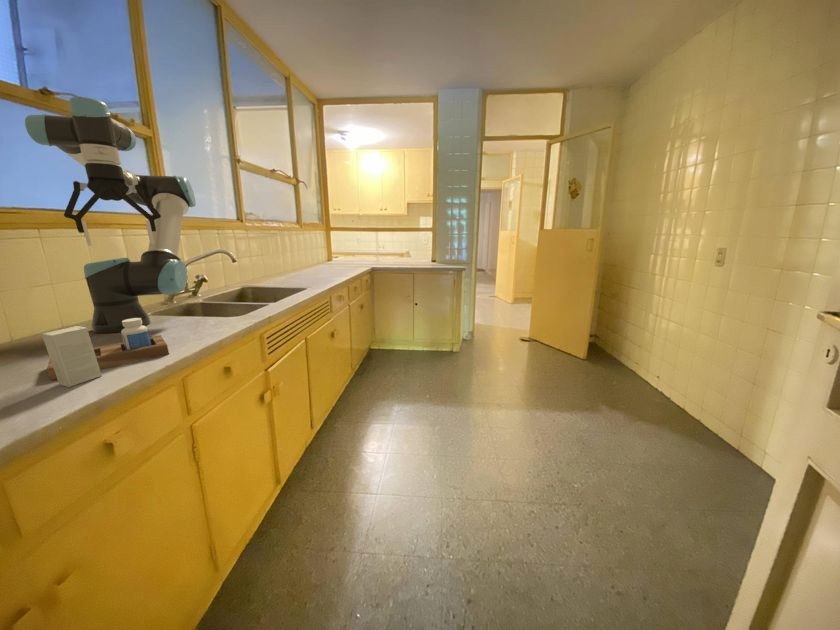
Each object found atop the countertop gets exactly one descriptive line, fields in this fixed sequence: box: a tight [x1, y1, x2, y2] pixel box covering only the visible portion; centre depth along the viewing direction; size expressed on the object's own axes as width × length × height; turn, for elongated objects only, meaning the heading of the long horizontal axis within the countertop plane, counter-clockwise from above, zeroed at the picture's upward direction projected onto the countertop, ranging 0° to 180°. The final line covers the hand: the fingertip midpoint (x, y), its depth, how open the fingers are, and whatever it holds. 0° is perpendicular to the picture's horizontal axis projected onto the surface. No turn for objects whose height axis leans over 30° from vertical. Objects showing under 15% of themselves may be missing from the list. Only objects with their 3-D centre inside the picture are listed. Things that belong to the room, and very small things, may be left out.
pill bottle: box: [120, 318, 151, 350], centre depth 89 cm, size 6×5×10 cm
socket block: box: [46, 335, 170, 381], centre depth 86 cm, size 11×22×3 cm, turn 134°
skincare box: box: [41, 325, 102, 388], centre depth 74 cm, size 6×4×12 cm
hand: (122, 244), depth 96 cm, fingers open, 13 cm apart
